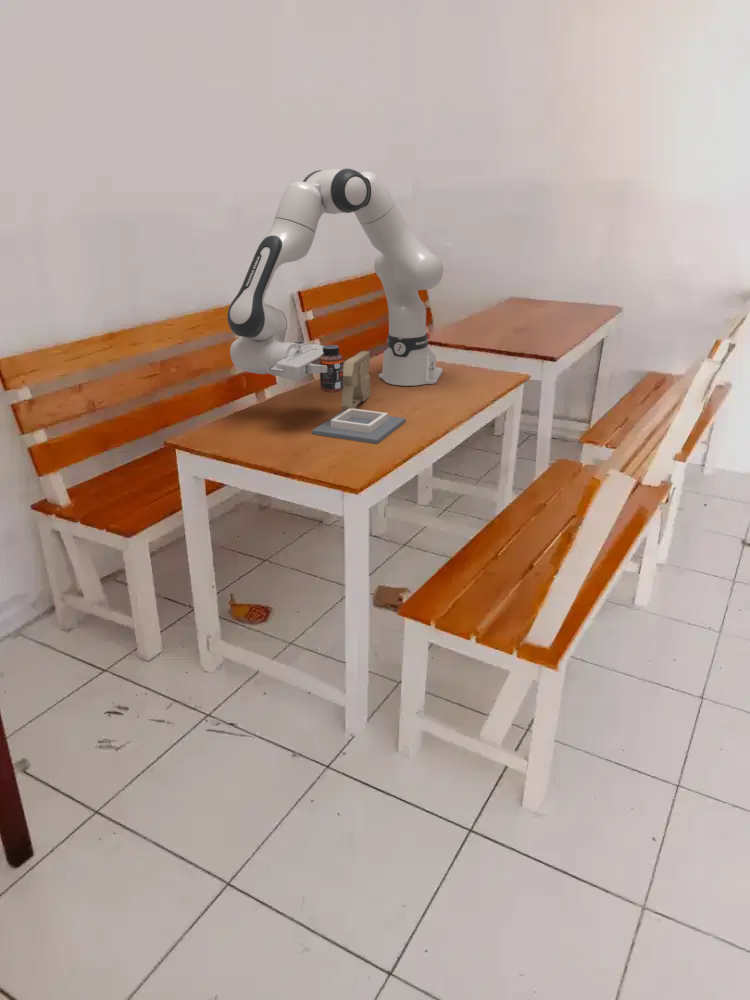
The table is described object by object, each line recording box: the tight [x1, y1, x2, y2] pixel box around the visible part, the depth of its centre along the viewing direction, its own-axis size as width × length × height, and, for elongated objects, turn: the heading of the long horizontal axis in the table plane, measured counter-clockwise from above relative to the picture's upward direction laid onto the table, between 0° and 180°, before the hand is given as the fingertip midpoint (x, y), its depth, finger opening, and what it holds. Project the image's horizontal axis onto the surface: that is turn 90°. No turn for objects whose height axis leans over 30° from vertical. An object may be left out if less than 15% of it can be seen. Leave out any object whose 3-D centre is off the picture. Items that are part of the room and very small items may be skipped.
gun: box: [340, 350, 371, 413], centre depth 217 cm, size 24×3×15 cm, turn 169°
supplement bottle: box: [319, 344, 344, 394], centre depth 199 cm, size 6×6×11 cm
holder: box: [311, 408, 407, 445], centre depth 202 cm, size 18×18×3 cm
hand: (334, 365), depth 199 cm, fingers closed on supplement bottle, 6 cm apart
